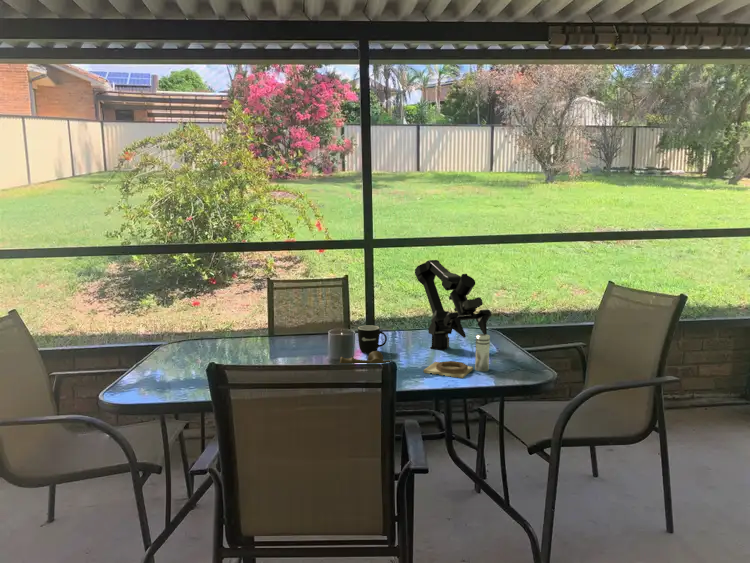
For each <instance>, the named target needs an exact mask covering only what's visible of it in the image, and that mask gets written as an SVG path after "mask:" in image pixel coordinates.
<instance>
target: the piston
mask: <svg viewBox="0 0 750 563" xmlns="http://www.w3.org/2000/svg"><path fill="white" fill-rule="evenodd" d="M490 341H491V335H489V334H488V333H487V334H483V333H478V334H476V335H475V355H474V357H475V358H474V359H475V362H474V369H475V371H478V372H488V371H489V370H490V369H489V368H490V345H491V344H490V343H491V342H490Z"/></svg>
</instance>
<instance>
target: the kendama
mask: <svg viewBox="0 0 750 563" xmlns="http://www.w3.org/2000/svg"><path fill="white" fill-rule="evenodd" d="M390 361H392V360H389V359H387V360H385V358H384V355H383V353H382V352H381V351H379V350H377V351H373V352H371V353H368V356H367V360H366V359H357V358H355V357H349V358H347V357H346V358H345V357H343V356H340V358H339V364H340V363H384V364H387V363H386V362H390ZM390 363H391V362H390Z"/></svg>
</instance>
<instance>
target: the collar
mask: <svg viewBox="0 0 750 563" xmlns="http://www.w3.org/2000/svg"><path fill="white" fill-rule="evenodd" d="M473 369H474V367H473V366H469V365H467V364H466V363H464V362H461V361H454V360H448V361H447V360H446V361H433V363H431V364H430V365H429V366H427V367H426V368H424V369H423V372H424V374H430V373H432V374H431V375H436V374H439V375H438V376H443V375H445V377H450V376H451V378H457V377H458V378H459V379H464V378H465V377H466V376H467V375H468V374H470V372H472V371H473ZM458 378H457V379H458Z"/></svg>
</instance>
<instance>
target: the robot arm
mask: <svg viewBox="0 0 750 563" xmlns="http://www.w3.org/2000/svg"><path fill="white" fill-rule="evenodd" d="M414 275H415V276H416V279H417V281H418V283H420V284H421V285H422V286H423V288H424V290H425V293H426V296H427V297H426V298H427V299H428V303H429V307H430V309H431V313H432V316H431V320H430V321H431V323H430V325H429V327H428V328H427V329H428V330H427V331H428V334H430V335H431V346H430V348H429V349H433V350H441V351H446V350H447V349H448V348H450V337H449V335H450V334H451V335H452V332H453V331H455V332H456V333H457V334H459V335H460V336H461V337H462V338H464V339H465V338H466V337H467V336H466V333H465V329H464V328H463V324H461V322H462V321H469V320H471V321H472V320H475V321H476V322H477V325H478V327H479V329H480V331H481V333H482V334H487V335H488V333H487V332H488V329H487V322H488V321H489V319H490V318H491V317H492V314H493V313H492V311H491V309H480V310H479V311H478V313H476V311H477V309H478V308H480V307H481V306H483V304H484V302H483V299H482V298H481V297H480V296H479V297H475V298H472V299H470V298H469V299H468V297H467V296H468V295H469V294H470V293H471V292H472V291H473V289H474V287H475V285H476V280H475V279H474V278H473V277H471V276H470V275H468V274H467V273H461V275H459V274H457V273H453V272H450V271H449V270H448V269H447V268H446V267H445V266H444V265H443V264H441V262H440V260H438V259H428V260H426V261H425V262H423V263H422V264H421V263H420V264H419V265H417V266H416V268H415V269H414ZM436 277H437V278H438V279H439V280H440V281H441V286H442V287H443V289H444V290H445V291H451V292H450V293H449V297H448V300H449V301H450V300H451V301H452V302H453V306H454V309H453V310H454V311H453V312H450V311H449V310H448V311H447V310H445V309H444V306H443V304H442V301H441V297H440V295H439V292H438V289H437V286H436V282H435V279H436Z"/></svg>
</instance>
